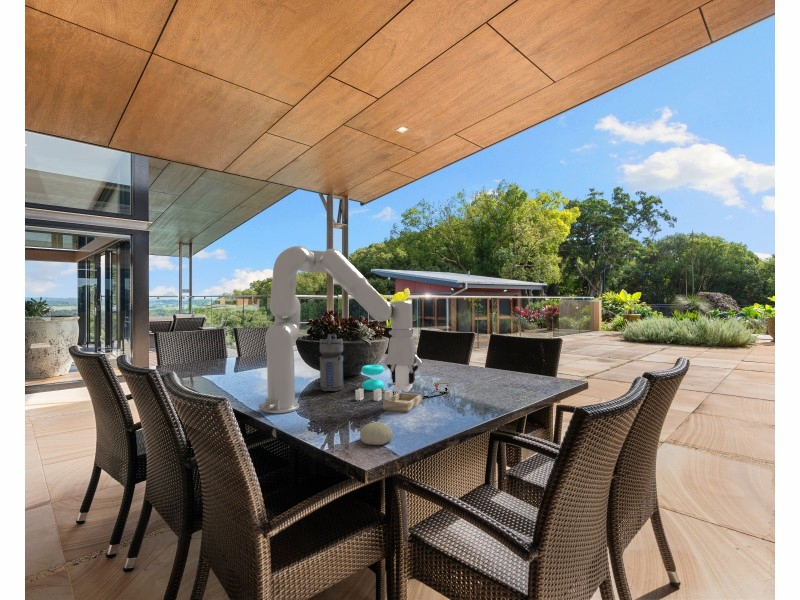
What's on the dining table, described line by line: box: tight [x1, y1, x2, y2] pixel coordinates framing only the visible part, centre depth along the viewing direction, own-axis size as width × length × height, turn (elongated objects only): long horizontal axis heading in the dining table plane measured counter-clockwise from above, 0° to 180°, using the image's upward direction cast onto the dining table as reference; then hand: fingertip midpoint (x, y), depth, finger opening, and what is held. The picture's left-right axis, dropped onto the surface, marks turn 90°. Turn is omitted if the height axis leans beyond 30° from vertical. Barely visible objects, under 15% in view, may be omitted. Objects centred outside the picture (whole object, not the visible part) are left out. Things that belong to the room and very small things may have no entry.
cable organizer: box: [393, 365, 413, 393], centre depth 150 cm, size 5×10×10 cm, turn 168°
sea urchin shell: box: [359, 421, 394, 446], centre depth 113 cm, size 9×8×8 cm
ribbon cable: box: [382, 382, 451, 399], centre depth 173 cm, size 29×1×30 cm
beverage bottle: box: [319, 333, 345, 392], centre depth 179 cm, size 10×13×25 cm
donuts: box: [361, 364, 385, 391], centre depth 180 cm, size 10×10×10 cm
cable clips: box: [354, 388, 394, 402], centre depth 159 cm, size 5×14×4 cm, turn 67°
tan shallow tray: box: [382, 392, 423, 413], centre depth 150 cm, size 15×10×3 cm, turn 157°
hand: (403, 382), depth 150 cm, fingers closed on cable organizer, 5 cm apart
